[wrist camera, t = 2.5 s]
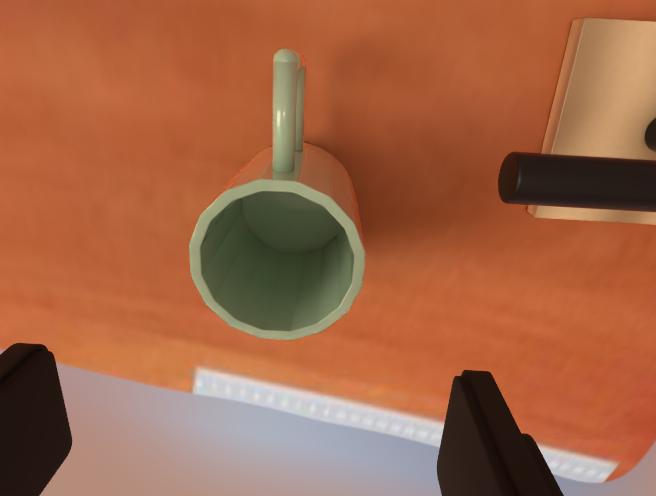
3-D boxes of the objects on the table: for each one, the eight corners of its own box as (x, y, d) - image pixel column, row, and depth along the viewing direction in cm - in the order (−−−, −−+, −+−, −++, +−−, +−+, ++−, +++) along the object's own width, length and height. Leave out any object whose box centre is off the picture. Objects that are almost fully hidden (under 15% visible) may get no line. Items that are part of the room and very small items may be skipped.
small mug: (350, 258, 27) (357, 344, 19) (238, 252, 27) (194, 335, 19) (366, 57, 23) (385, 52, 14) (232, 49, 23) (173, 39, 14)
